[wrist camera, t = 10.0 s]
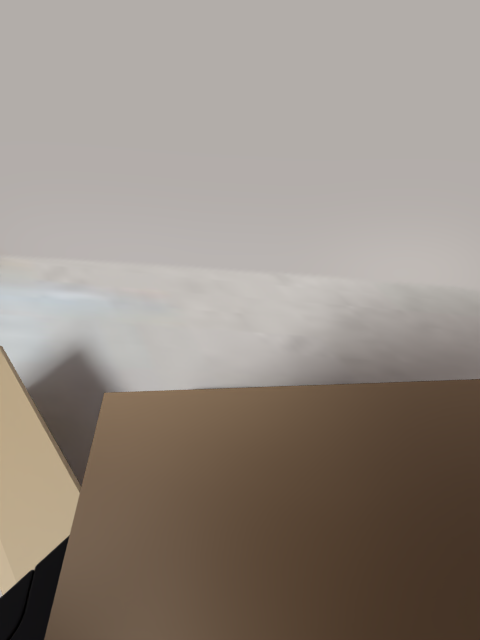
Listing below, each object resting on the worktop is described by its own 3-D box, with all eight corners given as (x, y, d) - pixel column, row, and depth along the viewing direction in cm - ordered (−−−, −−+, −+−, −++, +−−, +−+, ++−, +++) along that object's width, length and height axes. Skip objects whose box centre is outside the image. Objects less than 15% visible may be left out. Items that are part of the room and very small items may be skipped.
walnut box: (340, 551, 11) (882, 1184, 1) (221, 550, 11) (-48, 1022, 2) (324, 444, 13) (487, 379, 3) (223, 446, 13) (104, 392, 4)
